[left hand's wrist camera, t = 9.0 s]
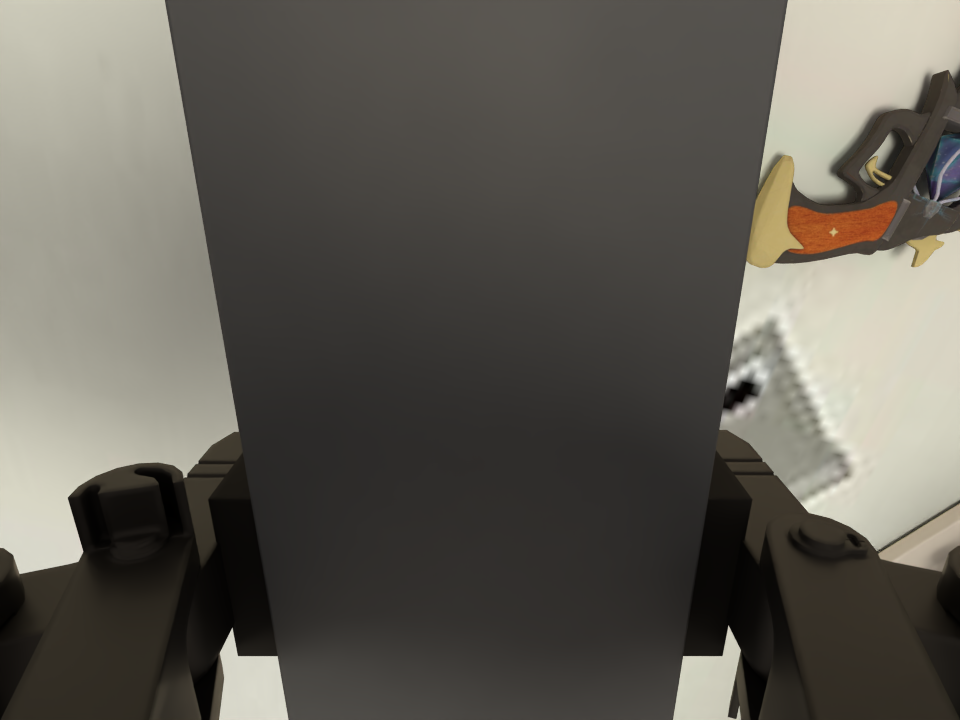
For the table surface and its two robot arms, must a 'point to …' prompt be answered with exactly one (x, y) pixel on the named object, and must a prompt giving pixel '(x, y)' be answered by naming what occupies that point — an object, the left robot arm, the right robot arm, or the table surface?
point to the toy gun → (871, 193)
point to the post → (478, 331)
